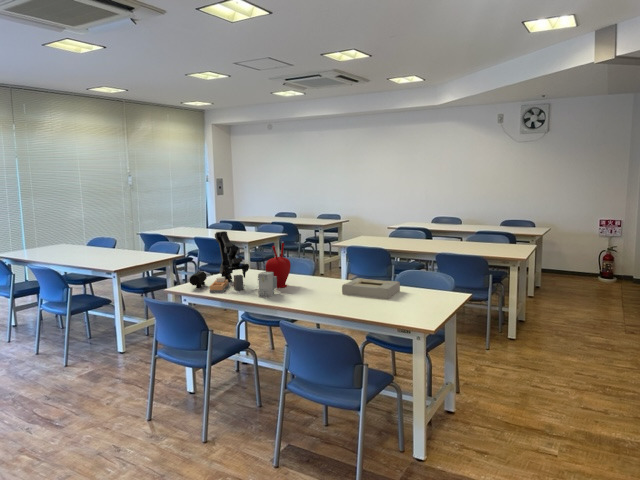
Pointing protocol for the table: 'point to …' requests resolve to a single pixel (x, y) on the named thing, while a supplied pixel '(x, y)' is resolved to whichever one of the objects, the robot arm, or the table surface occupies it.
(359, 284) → the box
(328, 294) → the table surface
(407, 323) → the table surface
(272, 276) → the circuit breaker
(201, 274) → the security camera
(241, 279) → the dark grey block
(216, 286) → the orange and grey housing
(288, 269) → the red antenna pod
